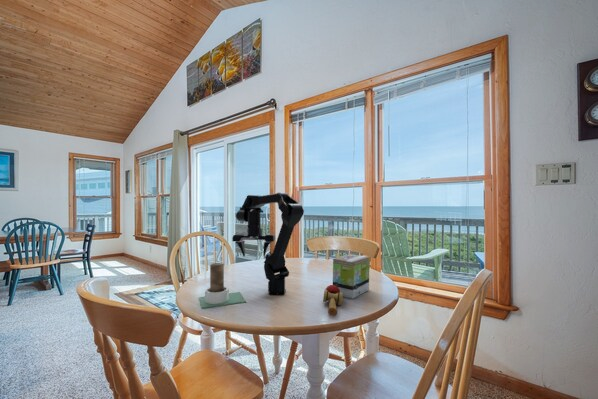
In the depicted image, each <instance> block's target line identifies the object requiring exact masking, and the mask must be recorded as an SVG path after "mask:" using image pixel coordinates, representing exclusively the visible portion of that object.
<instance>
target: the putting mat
mask: <svg viewBox="0 0 598 399" xmlns="http://www.w3.org/2000/svg"><path fill="white" fill-rule="evenodd" d="M229 290H230V289H229V287H228V286H225V285H224V291H222V292H210V287H207V288H206V289H205V290H204V296H198V297H199V298H198V299H199V302H200V307H201V309H208V308H214V307H215V308H217V307H223V306H224V307H225V306H229V305H237V304H243V303H247V300H246V299H245V297H244V296H243V295H242V293H241V292H240V291H235V292H230V291H229Z"/></svg>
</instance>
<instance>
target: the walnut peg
mask: <svg viewBox="0 0 598 399" xmlns="http://www.w3.org/2000/svg"><path fill="white" fill-rule="evenodd" d="M209 268H210V269H209V271H210V272H209V273H210V274H209V275H210V278H209V279H210V280H209V285H210V286H209V288H210V292H222V291H224V286H225V284H224V283H225V279H224V278H225V276H224V275H225V273H224V272H225V264H224V263H222V262H214V263H211V264H210V267H209Z"/></svg>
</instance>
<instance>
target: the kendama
mask: <svg viewBox="0 0 598 399" xmlns="http://www.w3.org/2000/svg"><path fill="white" fill-rule="evenodd" d="M343 298H344V297H343V292H340V289H339V288H338V287H337V286H335V285H333V284H330V285H327V286H326V288H325V289H324V291H323V298H322V299H323V300H322V302H323V303H327V302H329V304H328V310H327V312H328V315H329V316H331V317H332V316H334V317H335V316H337V314H338V310H337V306H342V304H343Z"/></svg>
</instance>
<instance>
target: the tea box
mask: <svg viewBox="0 0 598 399" xmlns="http://www.w3.org/2000/svg"><path fill="white" fill-rule="evenodd" d="M332 285H335V286H337V287H338V288H339V289H340V292H343V297H342V298H347V299H352V300H353V299H355V298H357V297H358V296H360V295H362V294H363V293H366V292H368V291H369V290H370V256H367V255H358V254H351V253H349V254H345V255H342V256H338V257H334V258H333V259H332ZM367 290H368V291H367Z"/></svg>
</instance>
